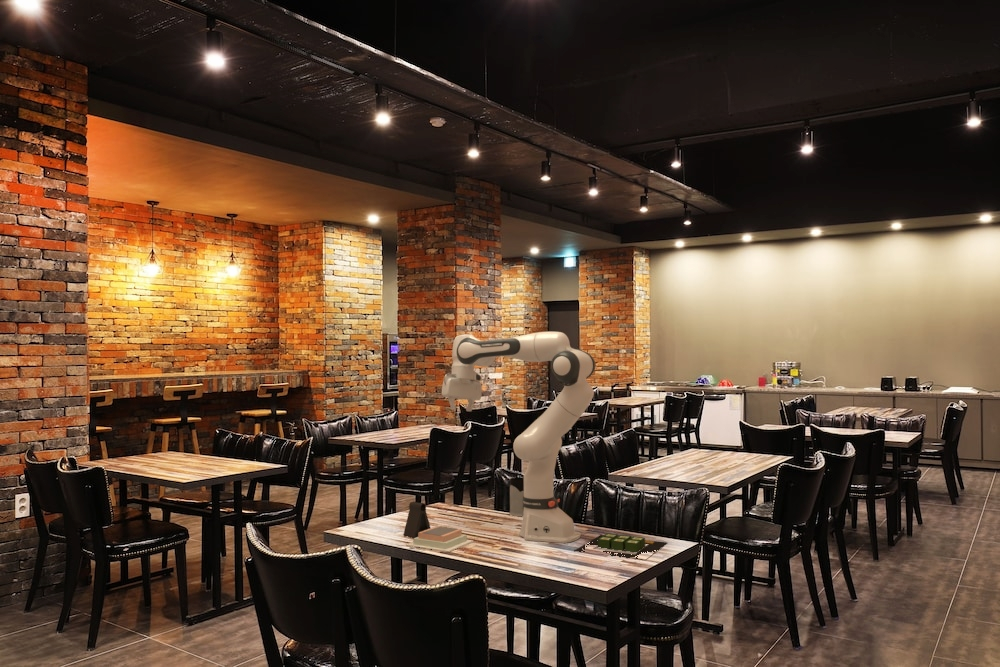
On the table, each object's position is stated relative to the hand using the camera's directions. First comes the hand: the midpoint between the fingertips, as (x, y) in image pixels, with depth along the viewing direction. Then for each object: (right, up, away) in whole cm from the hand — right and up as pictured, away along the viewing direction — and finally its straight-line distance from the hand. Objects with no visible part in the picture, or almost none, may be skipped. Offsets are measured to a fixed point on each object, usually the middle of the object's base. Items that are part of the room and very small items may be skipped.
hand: (461, 410), depth 289 cm
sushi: (+57, -45, -34) cm, 80 cm away
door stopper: (-15, -45, -14) cm, 50 cm away
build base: (-6, -44, -27) cm, 53 cm away
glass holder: (+26, -46, +21) cm, 57 cm away
